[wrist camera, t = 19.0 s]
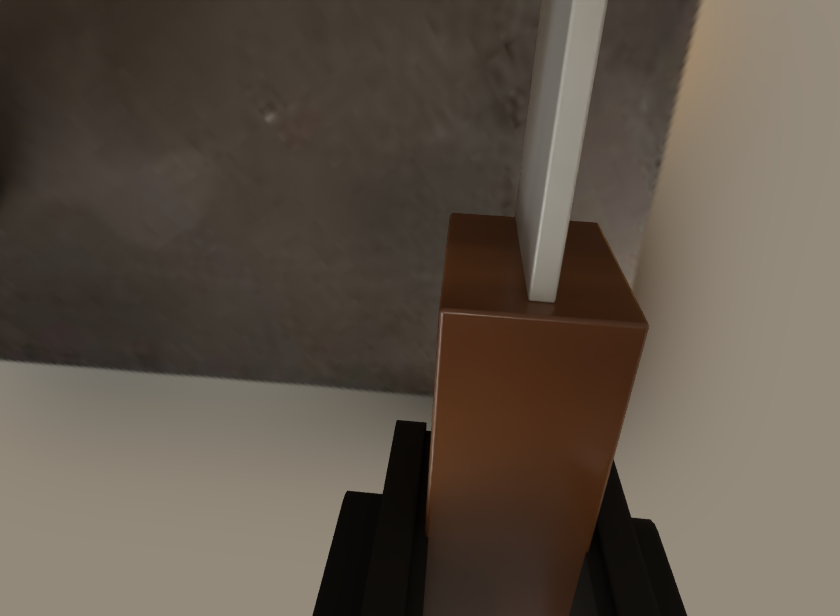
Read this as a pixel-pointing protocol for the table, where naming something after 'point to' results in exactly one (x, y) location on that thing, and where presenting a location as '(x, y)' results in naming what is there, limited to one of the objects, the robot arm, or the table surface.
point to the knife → (529, 363)
